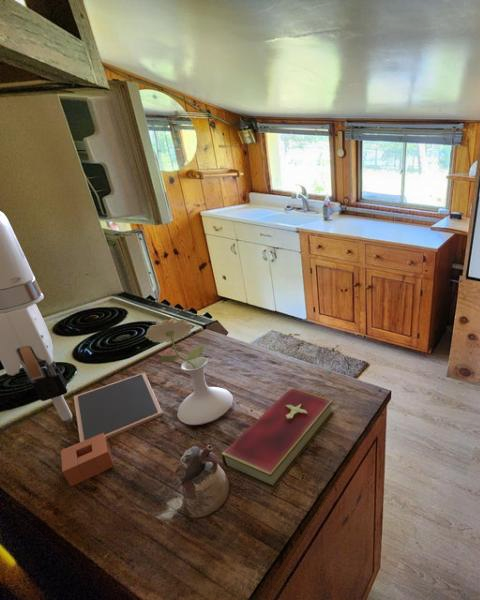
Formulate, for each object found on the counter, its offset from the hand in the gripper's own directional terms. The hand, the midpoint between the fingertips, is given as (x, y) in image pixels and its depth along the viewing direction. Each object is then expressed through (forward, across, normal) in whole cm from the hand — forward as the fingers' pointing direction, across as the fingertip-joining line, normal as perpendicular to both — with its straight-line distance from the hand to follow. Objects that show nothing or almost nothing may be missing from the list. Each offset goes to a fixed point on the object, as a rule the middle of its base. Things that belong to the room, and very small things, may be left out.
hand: (54, 392), depth 55 cm
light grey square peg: (+6, 0, 0) cm, 6 cm away
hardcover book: (+18, +18, +30) cm, 40 cm away
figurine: (+18, +22, +14) cm, 32 cm away
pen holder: (+18, 0, 0) cm, 18 cm away
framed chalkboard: (+18, -16, +6) cm, 25 cm away
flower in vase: (+18, -1, +20) cm, 27 cm away
